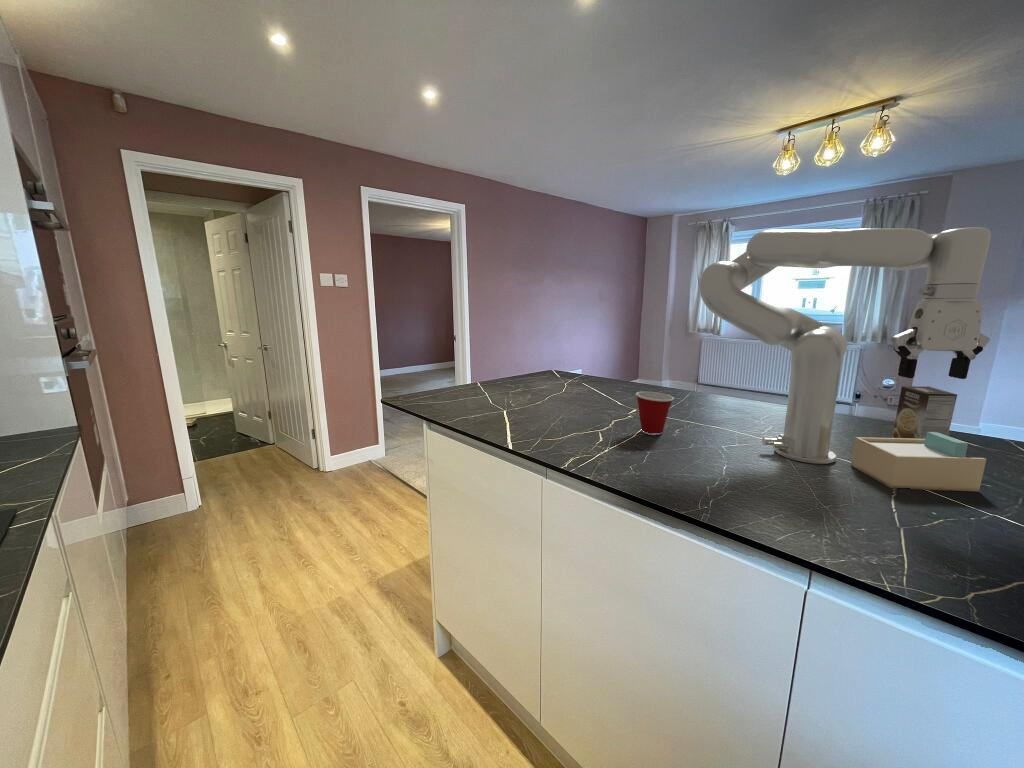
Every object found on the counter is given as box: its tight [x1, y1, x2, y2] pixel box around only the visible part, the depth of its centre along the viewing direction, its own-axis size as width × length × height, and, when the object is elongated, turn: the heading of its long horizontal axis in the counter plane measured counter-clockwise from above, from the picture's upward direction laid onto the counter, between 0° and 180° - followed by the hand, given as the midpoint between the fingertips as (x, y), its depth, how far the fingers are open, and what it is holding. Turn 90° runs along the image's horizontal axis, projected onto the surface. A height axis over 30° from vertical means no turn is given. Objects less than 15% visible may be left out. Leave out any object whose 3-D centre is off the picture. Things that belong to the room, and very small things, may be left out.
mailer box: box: [850, 436, 987, 492], centre depth 87 cm, size 16×12×7 cm
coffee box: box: [891, 385, 958, 439], centre depth 102 cm, size 9×6×16 cm
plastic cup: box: [635, 391, 675, 433], centre depth 119 cm, size 11×11×12 cm
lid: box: [869, 432, 969, 457], centre depth 86 cm, size 14×10×4 cm
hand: (931, 377), depth 84 cm, fingers open, 9 cm apart
